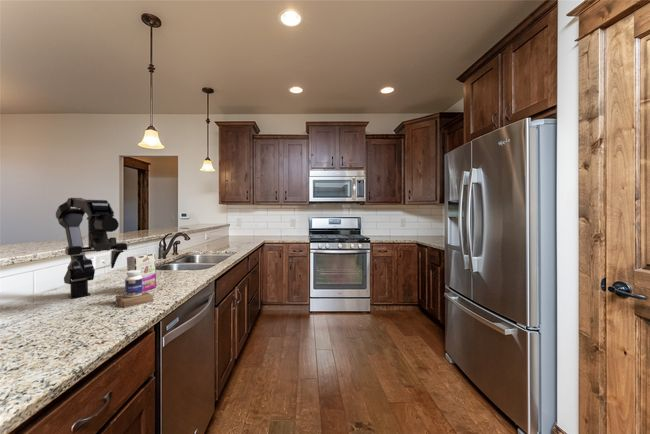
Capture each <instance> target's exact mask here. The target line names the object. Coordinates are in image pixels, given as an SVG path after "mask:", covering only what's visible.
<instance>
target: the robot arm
mask: <svg viewBox="0 0 650 434" xmlns="http://www.w3.org/2000/svg"><path fill="white" fill-rule="evenodd" d="M114 213H115V212H114V210H113V208H112V207H111V203H109V201H108V200H107V199H85V198H82V197H68V198H67V200H66V201H65V202H63V203H62V204H60V205H59V206H58V207H57V209H56V211H55V218H56V219H57V221H58V224H59V225H60V226H61V227H62V228H63V229H64V231H65V235H66V240H67V245H68V246H66V247H65V248H64V249H65V251H64V252H65V255H67V256H70V262H69V264H68V266H67V270H66V273H65V275H64V277H63V283H64V284H67V285H69V286H70V287H69V289H70V290H69V292H70V293H69V294H68V295H67V297H68V298H70V299H76V298H82V297H88V296H91V294H92V293H90V292H89V281H93V280H94V279H95V273H96V272H95V271H96V270H95V267H94V265H93V261H92V259H91V258H87V257H86V253H87V252H101V251H102V252H103V251H106V252H108V251H111V253H110V254H111V255H110V256H111V257H110V267H111V269H114V267H115V264H116V263H117V260H118V258H119V255H120V254H121V253H124V252H125V251H127V250H128V244H127V243H125V242H117V238H116V237H108V233H112V232H115V231H116V230H118V228H119V226H120V224H119V221H118V219H117V218H115V214H114ZM85 214H86V215H87V217H86V220H87V229H88V230H87V231H88V233H87V234H88V235H87V236H88V237H87V238H88V240H87V241H88V246H84V243H83V239H82V238H83V237H82V233H81V228H80V225H81V224H82V221H83V220H84V219H83V218H84V216H85Z"/></svg>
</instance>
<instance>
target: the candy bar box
mask: <svg viewBox="0 0 650 434" xmlns="http://www.w3.org/2000/svg"><path fill="white" fill-rule="evenodd" d="M126 267H127V268H126V272H127V271H131V270H140V271H141V274H140V276H142V291H146V292H148V291H149V289H150V290H152V289H156V288H157V271H156V253H149V252H148V253H143V254H138V255H132V256H128V257H126Z"/></svg>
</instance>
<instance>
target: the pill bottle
mask: <svg viewBox="0 0 650 434" xmlns="http://www.w3.org/2000/svg"><path fill="white" fill-rule="evenodd" d="M140 274H141V271H140V270H131V271H127V270H126V277H125V281H124V282H125V283H124V284H125V285H124V289H125V290H124V291H125V292H124V293H125V294H124V295H125V296H126V297H137V296H140V295H142V276H140Z"/></svg>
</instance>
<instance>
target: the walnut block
mask: <svg viewBox="0 0 650 434" xmlns="http://www.w3.org/2000/svg"><path fill="white" fill-rule="evenodd" d="M153 301H154V294H151V293H150V292H148V291H142V295H140V296H137V297H126V296H125V294H121V295H116V296H115V303H116V304H117V305H119V306H120V307H122V308H123V309H124V308H129V307H130V308H131V307H134V306H138V305H144V304H146V303H147V304H148V303H152V302H153Z"/></svg>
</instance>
